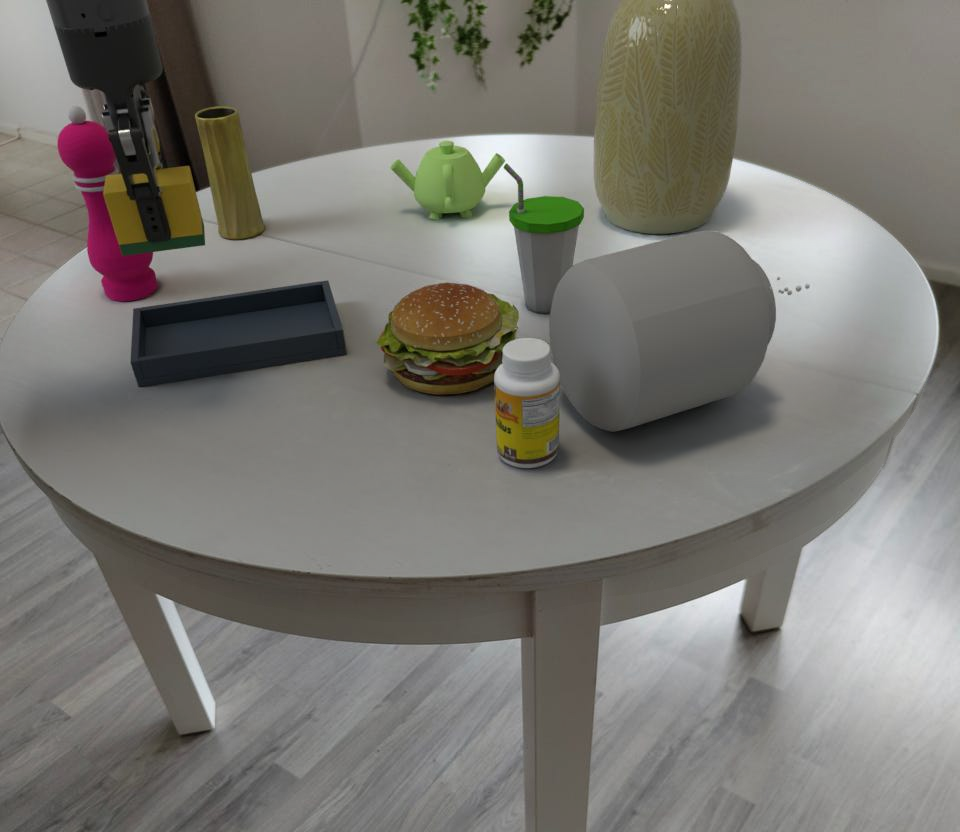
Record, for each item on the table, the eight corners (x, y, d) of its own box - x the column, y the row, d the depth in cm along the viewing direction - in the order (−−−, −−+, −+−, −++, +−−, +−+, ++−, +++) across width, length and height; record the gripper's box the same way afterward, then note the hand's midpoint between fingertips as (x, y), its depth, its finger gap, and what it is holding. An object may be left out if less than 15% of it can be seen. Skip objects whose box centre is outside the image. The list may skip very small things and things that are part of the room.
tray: (138, 387, 96) (130, 362, 94) (140, 332, 105) (133, 308, 103) (346, 354, 99) (343, 329, 97) (332, 303, 108) (328, 279, 106)
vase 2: (617, 184, 130) (630, -54, 111) (740, 199, 124) (776, -50, 105) (571, 230, 119) (576, -25, 100) (703, 249, 114) (735, -19, 95)
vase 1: (210, 238, 123) (181, 118, 113) (232, 220, 127) (206, 103, 117) (252, 241, 122) (226, 121, 112) (273, 223, 126) (250, 105, 116)
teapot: (450, 233, 121) (445, 163, 115) (390, 213, 127) (383, 145, 121) (509, 207, 126) (507, 138, 120) (449, 188, 132) (444, 123, 126)
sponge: (122, 256, 86) (102, 193, 82) (124, 236, 89) (105, 175, 85) (205, 245, 87) (189, 182, 83) (204, 226, 90) (189, 165, 86)
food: (482, 417, 89) (478, 339, 83) (360, 386, 94) (348, 310, 88) (546, 352, 97) (546, 277, 92) (430, 327, 102) (424, 254, 97)
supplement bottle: (491, 441, 86) (486, 337, 79) (550, 432, 86) (550, 328, 79) (504, 475, 82) (500, 369, 75) (565, 466, 83) (568, 359, 75)
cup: (593, 297, 106) (599, 155, 95) (558, 326, 101) (560, 180, 91) (534, 283, 109) (533, 144, 98) (498, 311, 104) (493, 168, 94)
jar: (522, 314, 93) (754, 239, 95) (568, 457, 94) (796, 380, 96) (555, 247, 74) (843, 154, 76) (613, 426, 76) (895, 331, 77)
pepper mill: (104, 281, 115) (43, 100, 101) (164, 274, 116) (112, 93, 102) (98, 307, 110) (33, 119, 96) (161, 299, 111) (105, 112, 96)
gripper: (59, -1, 80) (122, 207, 92) (43, 38, 70) (115, 265, 82) (149, -9, 81) (199, 197, 93) (146, 27, 71) (202, 254, 82)
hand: (160, 228), depth 87 cm, fingers closed on sponge, 4 cm apart
